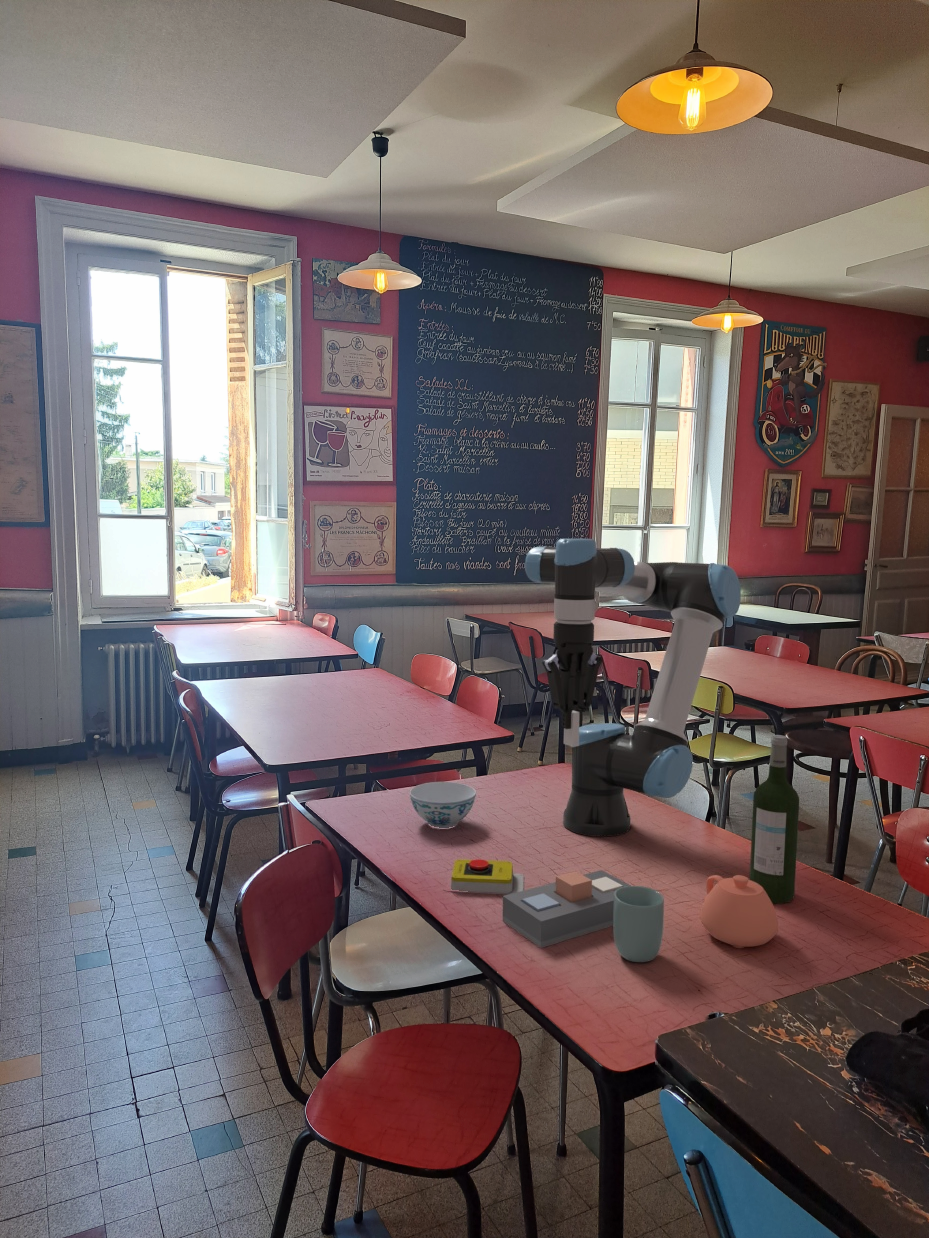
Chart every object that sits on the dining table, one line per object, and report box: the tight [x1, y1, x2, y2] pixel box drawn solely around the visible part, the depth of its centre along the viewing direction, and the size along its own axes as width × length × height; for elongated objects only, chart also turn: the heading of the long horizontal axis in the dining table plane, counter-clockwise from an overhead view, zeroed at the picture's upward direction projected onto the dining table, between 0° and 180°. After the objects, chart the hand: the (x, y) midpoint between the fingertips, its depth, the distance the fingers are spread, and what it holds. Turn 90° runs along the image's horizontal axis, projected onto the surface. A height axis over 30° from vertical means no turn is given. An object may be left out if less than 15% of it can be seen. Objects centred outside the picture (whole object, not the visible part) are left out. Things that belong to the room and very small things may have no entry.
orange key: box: [555, 871, 592, 903], centre depth 148 cm, size 4×4×4 cm
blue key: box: [523, 893, 559, 912], centre depth 145 cm, size 4×4×4 cm
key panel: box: [502, 869, 632, 949], centre depth 149 cm, size 22×11×4 cm, turn 121°
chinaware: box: [409, 781, 477, 828], centre depth 195 cm, size 15×15×8 cm
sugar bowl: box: [700, 874, 779, 949], centre depth 143 cm, size 12×14×10 cm
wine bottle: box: [749, 734, 800, 905], centre depth 158 cm, size 8×8×30 cm
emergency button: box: [451, 858, 525, 895], centre depth 163 cm, size 9×4×15 cm
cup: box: [612, 885, 665, 963], centre depth 136 cm, size 8×8×10 cm
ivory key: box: [592, 877, 622, 894], centre depth 152 cm, size 4×4×4 cm
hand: (571, 744), depth 163 cm, fingers closed
